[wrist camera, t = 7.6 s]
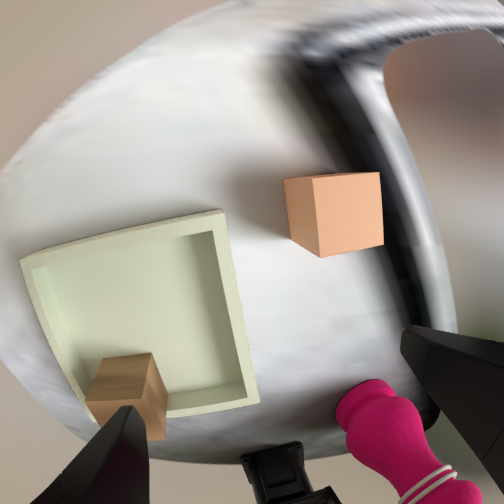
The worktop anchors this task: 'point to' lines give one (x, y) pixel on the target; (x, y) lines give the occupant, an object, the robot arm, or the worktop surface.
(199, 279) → the tray
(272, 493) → the robot arm
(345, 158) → the worktop surface
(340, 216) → the peach block
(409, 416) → the pepper mill
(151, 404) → the walnut block
